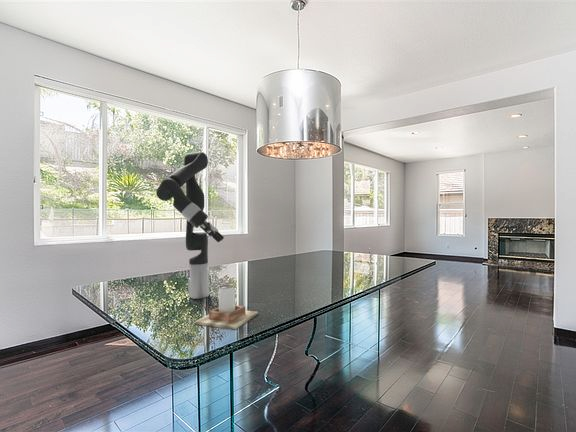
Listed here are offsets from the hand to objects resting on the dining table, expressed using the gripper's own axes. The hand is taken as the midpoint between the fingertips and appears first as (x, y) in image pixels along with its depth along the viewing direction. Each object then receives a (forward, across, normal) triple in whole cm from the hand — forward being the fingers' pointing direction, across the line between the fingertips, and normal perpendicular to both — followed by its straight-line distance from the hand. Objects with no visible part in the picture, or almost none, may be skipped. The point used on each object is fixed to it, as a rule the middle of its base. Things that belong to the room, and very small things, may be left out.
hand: (221, 240), depth 137 cm
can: (+23, -14, +19) cm, 33 cm away
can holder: (+24, -15, +19) cm, 34 cm away
